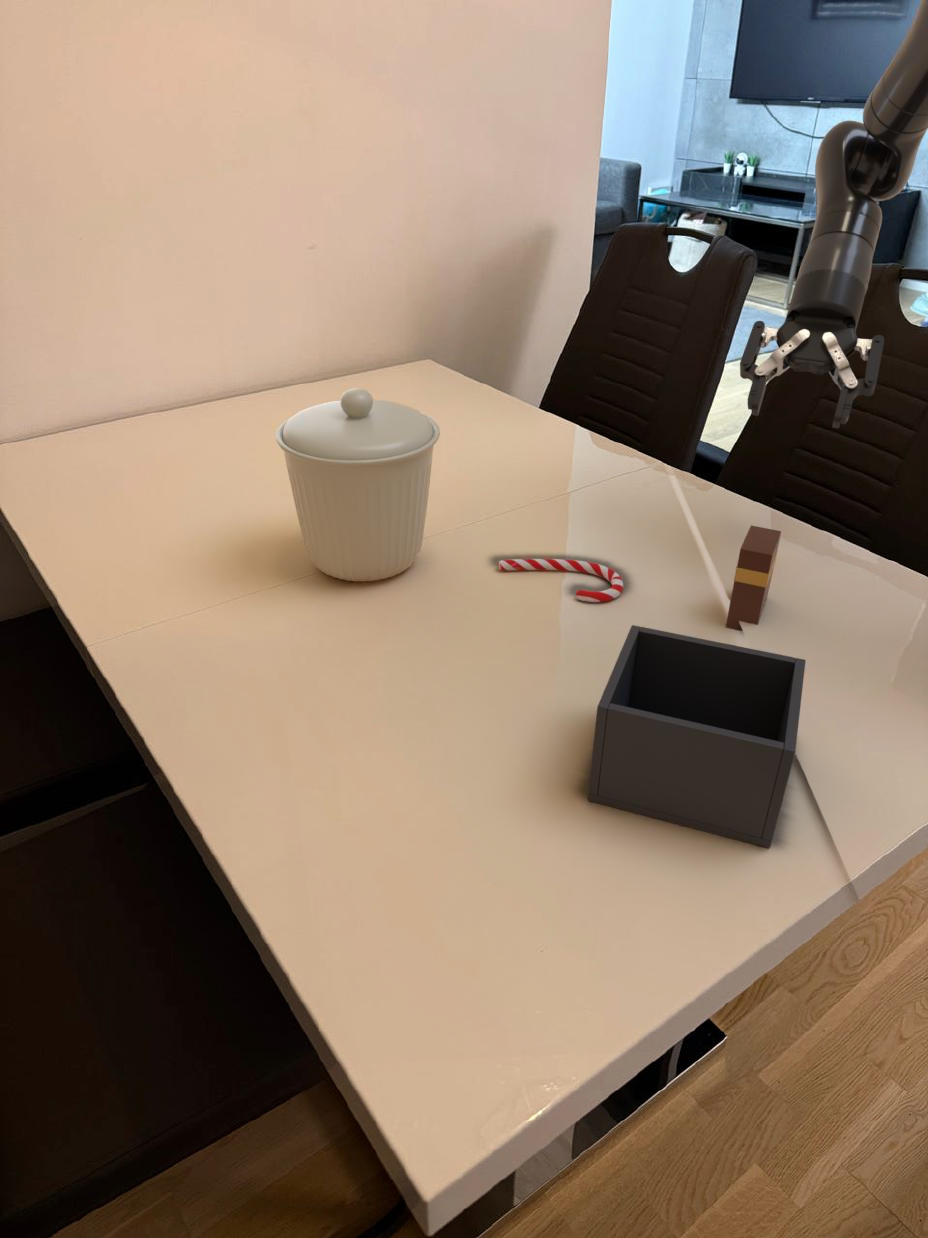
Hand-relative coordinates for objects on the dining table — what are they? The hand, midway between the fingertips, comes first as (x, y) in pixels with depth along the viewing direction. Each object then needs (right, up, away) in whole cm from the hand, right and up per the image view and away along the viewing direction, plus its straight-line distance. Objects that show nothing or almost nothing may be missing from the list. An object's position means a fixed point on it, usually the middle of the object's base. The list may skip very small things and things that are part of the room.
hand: (794, 418), depth 99 cm
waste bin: (-17, -35, -21) cm, 44 cm away
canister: (-48, -15, +11) cm, 51 cm away
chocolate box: (-5, -22, +1) cm, 22 cm away
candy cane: (-25, -18, +7) cm, 31 cm away
